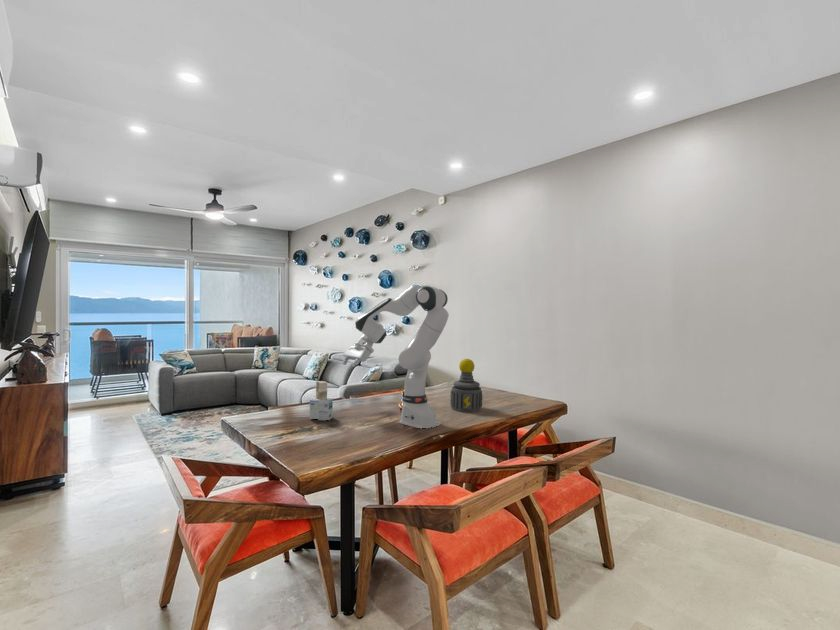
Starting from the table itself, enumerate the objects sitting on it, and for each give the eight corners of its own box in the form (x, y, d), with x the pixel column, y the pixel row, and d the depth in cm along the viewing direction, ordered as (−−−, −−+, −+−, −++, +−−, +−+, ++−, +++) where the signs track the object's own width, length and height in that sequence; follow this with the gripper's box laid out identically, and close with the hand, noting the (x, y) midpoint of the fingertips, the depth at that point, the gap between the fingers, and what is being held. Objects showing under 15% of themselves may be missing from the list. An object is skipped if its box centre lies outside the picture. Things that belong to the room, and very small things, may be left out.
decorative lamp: (449, 404, 261) (450, 356, 260) (480, 405, 260) (481, 357, 260) (450, 412, 242) (451, 360, 242) (483, 413, 241) (484, 360, 241)
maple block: (326, 399, 223) (327, 382, 223) (319, 400, 220) (320, 382, 220) (322, 397, 227) (323, 380, 227) (315, 398, 224) (316, 381, 224)
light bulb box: (332, 417, 226) (333, 397, 226) (328, 421, 220) (329, 400, 220) (313, 416, 228) (314, 396, 227) (309, 420, 221) (309, 399, 221)
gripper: (349, 341, 245) (335, 359, 239) (368, 343, 229) (353, 363, 223) (356, 348, 248) (342, 366, 242) (375, 351, 232) (360, 370, 226)
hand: (347, 365), depth 232 cm, fingers open, 8 cm apart
